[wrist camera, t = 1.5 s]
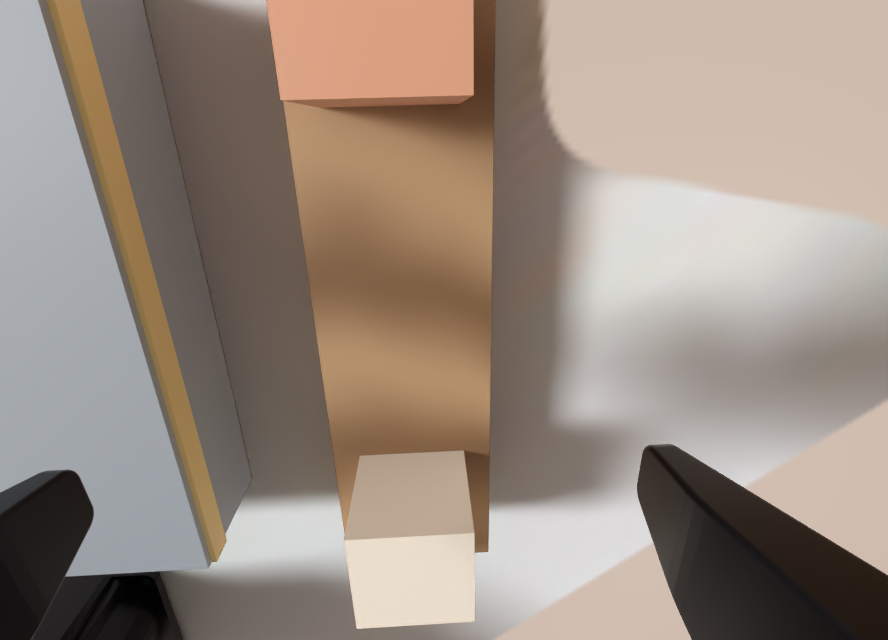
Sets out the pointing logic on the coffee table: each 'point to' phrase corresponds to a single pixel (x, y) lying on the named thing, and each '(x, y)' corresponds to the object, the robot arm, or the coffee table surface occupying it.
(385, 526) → the block
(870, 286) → the coffee table surface
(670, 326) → the coffee table surface
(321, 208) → the pallet
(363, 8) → the block
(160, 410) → the panel
